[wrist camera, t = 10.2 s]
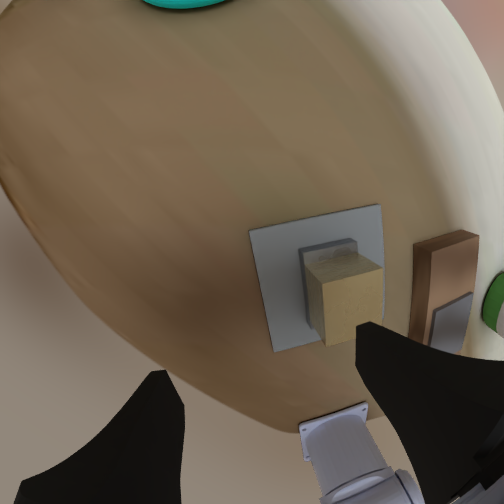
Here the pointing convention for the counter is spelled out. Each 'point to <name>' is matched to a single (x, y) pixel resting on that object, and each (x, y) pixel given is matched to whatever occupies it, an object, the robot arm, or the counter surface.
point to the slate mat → (289, 271)
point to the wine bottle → (495, 306)
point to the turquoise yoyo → (182, 3)
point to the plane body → (443, 290)
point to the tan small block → (340, 289)
